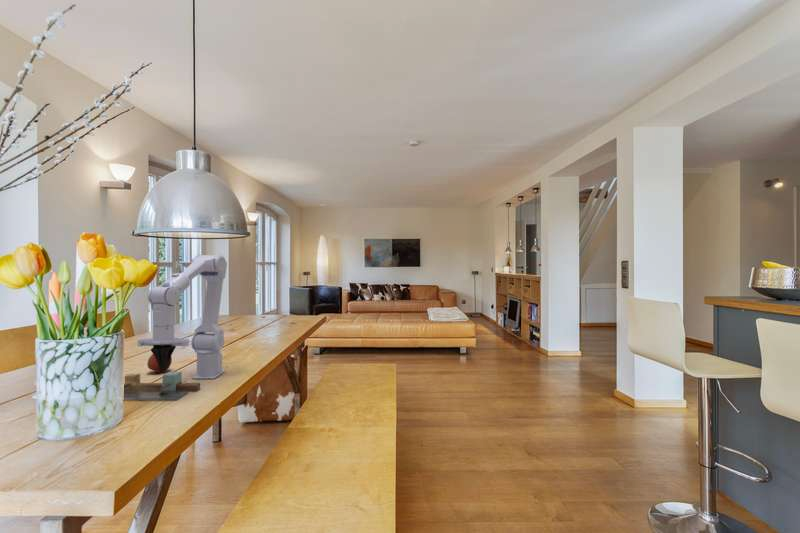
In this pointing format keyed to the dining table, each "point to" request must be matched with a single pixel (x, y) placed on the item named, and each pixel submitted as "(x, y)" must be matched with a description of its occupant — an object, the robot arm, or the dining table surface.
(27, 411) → the dining table surface
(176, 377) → the carriage
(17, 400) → the dining table surface
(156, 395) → the flange plate
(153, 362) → the apple
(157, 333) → the robot arm
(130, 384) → the trammel rail
